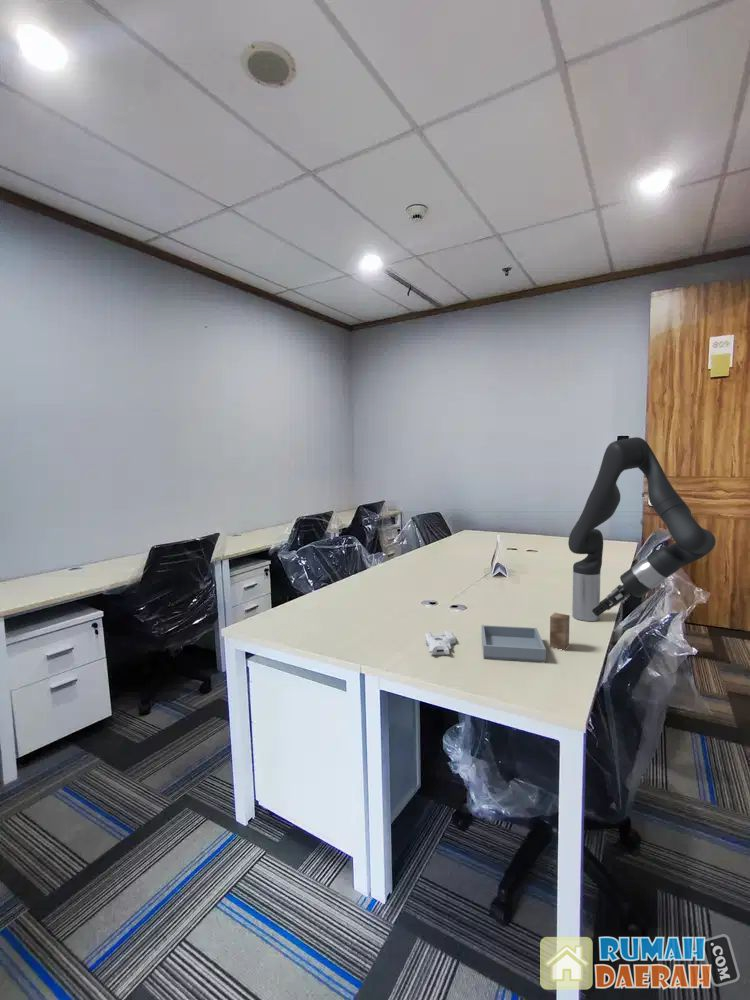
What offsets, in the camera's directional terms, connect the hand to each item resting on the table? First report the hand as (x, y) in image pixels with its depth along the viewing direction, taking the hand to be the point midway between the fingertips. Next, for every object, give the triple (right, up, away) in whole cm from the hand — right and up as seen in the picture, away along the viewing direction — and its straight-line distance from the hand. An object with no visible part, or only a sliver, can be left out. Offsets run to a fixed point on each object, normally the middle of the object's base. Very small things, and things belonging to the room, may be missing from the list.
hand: (598, 609), depth 136 cm
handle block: (-8, -14, +8) cm, 18 cm away
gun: (-45, -15, +11) cm, 49 cm away
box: (-24, -14, +7) cm, 28 cm away
